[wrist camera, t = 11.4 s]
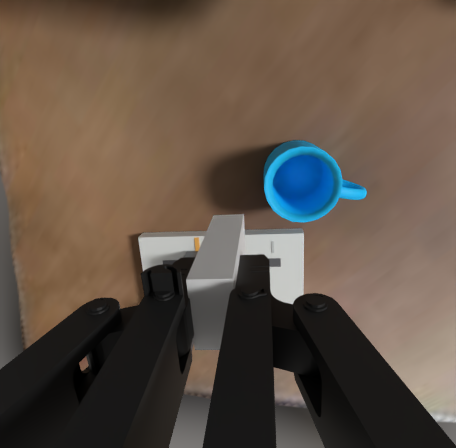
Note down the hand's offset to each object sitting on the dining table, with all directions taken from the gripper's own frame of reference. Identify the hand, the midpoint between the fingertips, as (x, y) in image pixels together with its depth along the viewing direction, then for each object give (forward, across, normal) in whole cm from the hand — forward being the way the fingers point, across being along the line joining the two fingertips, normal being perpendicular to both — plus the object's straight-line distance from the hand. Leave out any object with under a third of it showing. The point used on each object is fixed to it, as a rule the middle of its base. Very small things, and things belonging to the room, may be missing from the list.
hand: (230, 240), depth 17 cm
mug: (+29, +8, -3) cm, 30 cm away
